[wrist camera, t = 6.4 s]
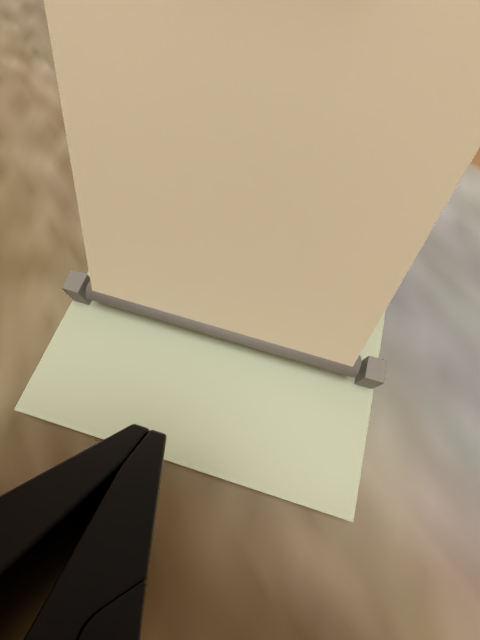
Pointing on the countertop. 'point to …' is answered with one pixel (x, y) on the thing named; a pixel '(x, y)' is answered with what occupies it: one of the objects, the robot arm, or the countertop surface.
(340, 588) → the countertop surface
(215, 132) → the hinged cream panel
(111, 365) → the pale green base plate
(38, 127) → the countertop surface
